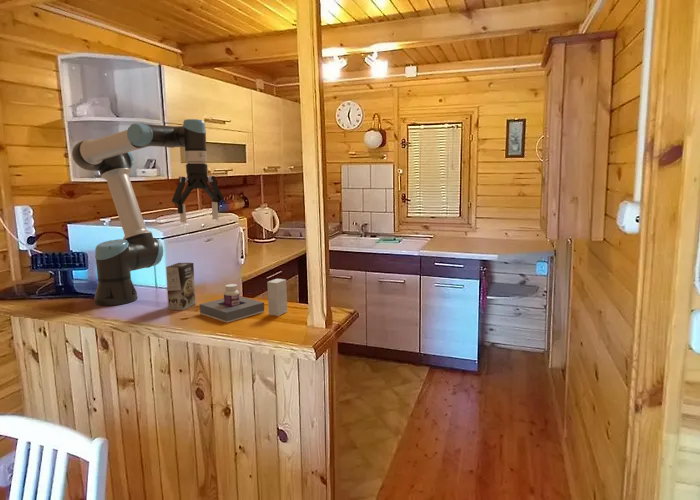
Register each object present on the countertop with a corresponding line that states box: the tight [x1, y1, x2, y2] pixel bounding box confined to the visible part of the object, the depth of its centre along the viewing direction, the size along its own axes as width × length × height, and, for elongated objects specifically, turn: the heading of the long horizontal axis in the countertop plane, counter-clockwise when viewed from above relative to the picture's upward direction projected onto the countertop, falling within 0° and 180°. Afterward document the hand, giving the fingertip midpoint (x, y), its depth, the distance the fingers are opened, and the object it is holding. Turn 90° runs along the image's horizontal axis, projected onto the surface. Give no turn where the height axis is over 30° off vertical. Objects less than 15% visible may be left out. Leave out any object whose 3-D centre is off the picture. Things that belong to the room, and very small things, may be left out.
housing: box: [199, 295, 265, 323], centre depth 176 cm, size 16×16×4 cm
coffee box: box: [165, 262, 197, 311], centre depth 183 cm, size 9×6×16 cm
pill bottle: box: [223, 283, 240, 307], centre depth 175 cm, size 5×5×10 cm
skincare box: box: [267, 278, 288, 317], centre depth 174 cm, size 6×4×12 cm
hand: (199, 220), depth 183 cm, fingers open, 13 cm apart
